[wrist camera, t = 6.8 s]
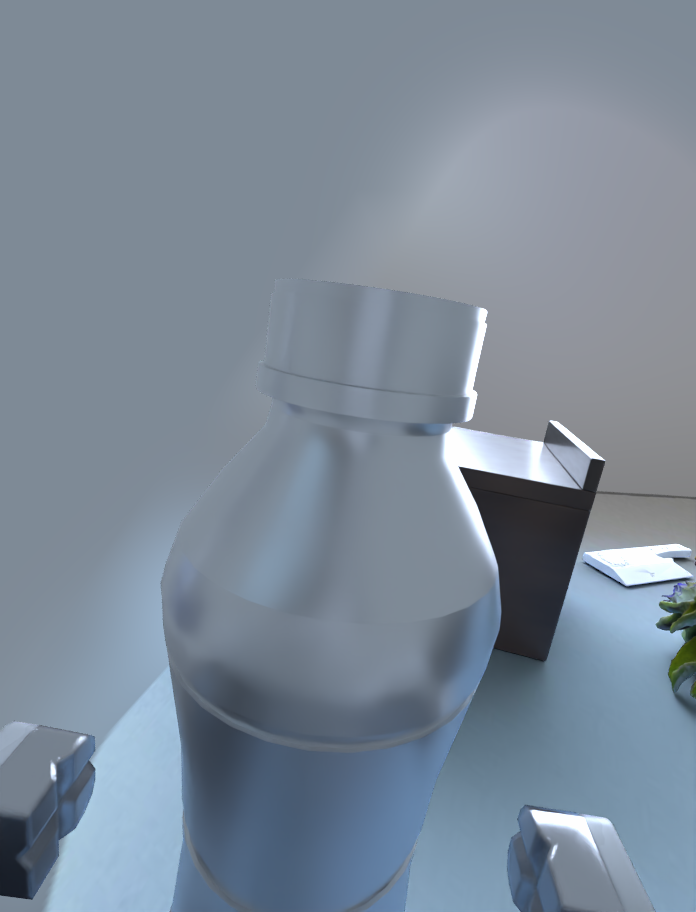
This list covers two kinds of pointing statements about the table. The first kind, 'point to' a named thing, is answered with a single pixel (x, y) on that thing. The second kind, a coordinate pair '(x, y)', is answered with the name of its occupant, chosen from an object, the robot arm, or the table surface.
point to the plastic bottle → (330, 608)
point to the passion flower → (690, 614)
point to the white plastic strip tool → (640, 563)
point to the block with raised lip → (530, 522)
